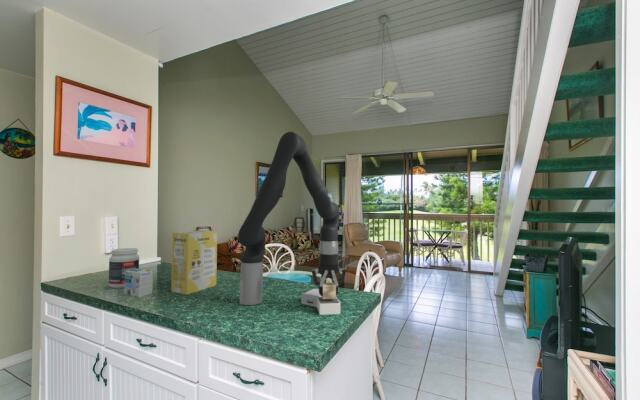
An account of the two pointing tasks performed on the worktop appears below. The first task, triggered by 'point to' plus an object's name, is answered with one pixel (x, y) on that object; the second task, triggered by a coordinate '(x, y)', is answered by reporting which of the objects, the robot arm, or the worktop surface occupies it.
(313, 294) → the charger
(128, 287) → the light bulb box
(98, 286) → the worktop surface
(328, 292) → the wooden cube
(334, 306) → the plinth
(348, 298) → the worktop surface
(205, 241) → the yellow carton with handle
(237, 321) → the worktop surface
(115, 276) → the supplement tub
